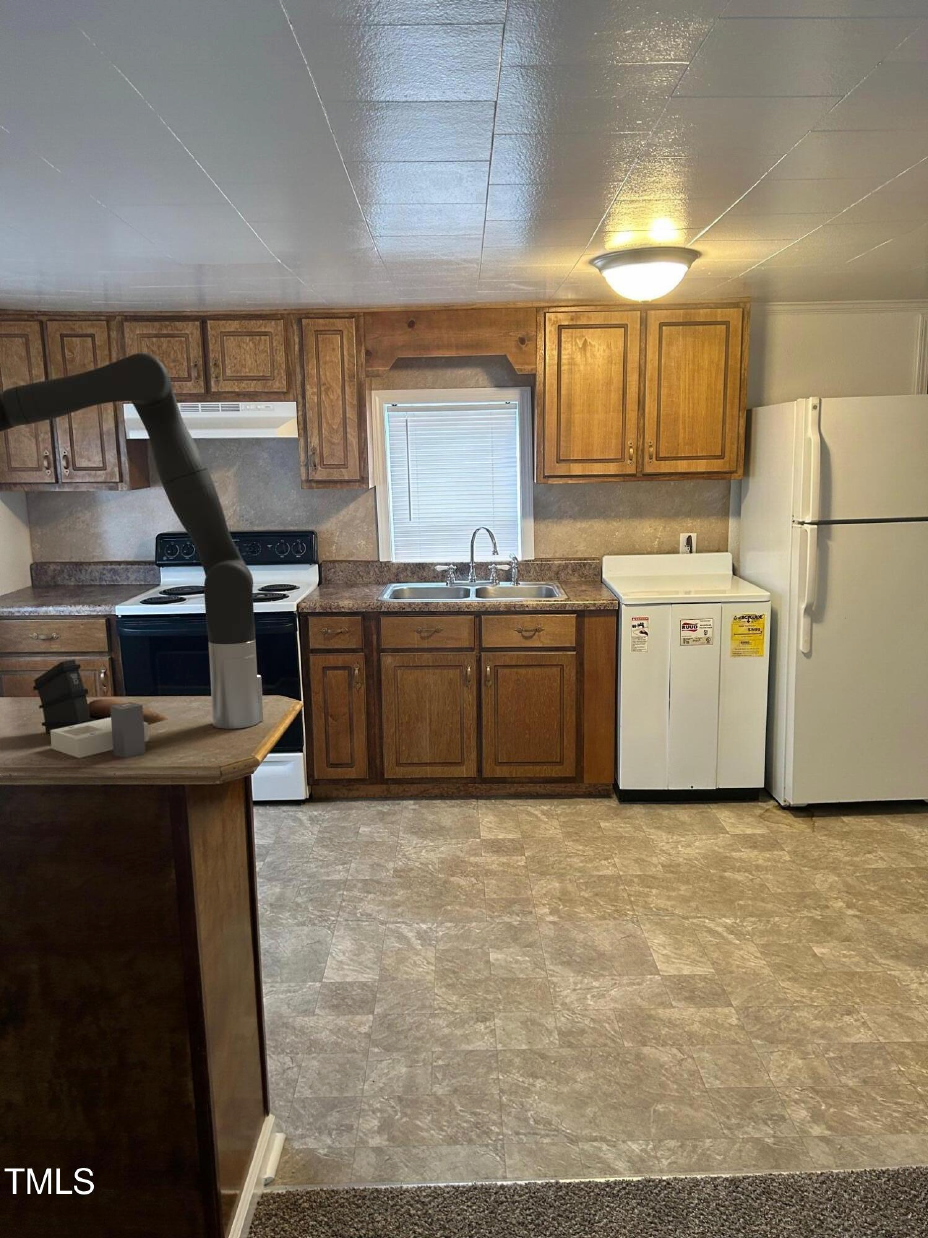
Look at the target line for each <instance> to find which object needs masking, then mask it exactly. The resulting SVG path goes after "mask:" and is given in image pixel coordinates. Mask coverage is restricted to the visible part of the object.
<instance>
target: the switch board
mask: <svg viewBox="0 0 928 1238" xmlns="http://www.w3.org/2000/svg"><path fill="white" fill-rule="evenodd" d="M149 732H150V731H149V725H148V723H146V722H144V736H145V743H146V742H149V741H150V736H149ZM50 733H51V734H50V743H51V749H52V750H54V751H58V752H59V753H60V752H61V753H63V754H66V755H69V756H72V757H75V758H78V759H79V758H80V759H81V758H83V757H88V756H93V755H97V754H100V753H105V752H108V751H112V750H113V739H112V725H111V717H110V718H102V719H98V720H97V719H96V720H93V721H92V722H87V723H82V724H78V725H73V726H68V727H64V728H59V729H54V730H50Z"/></svg>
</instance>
